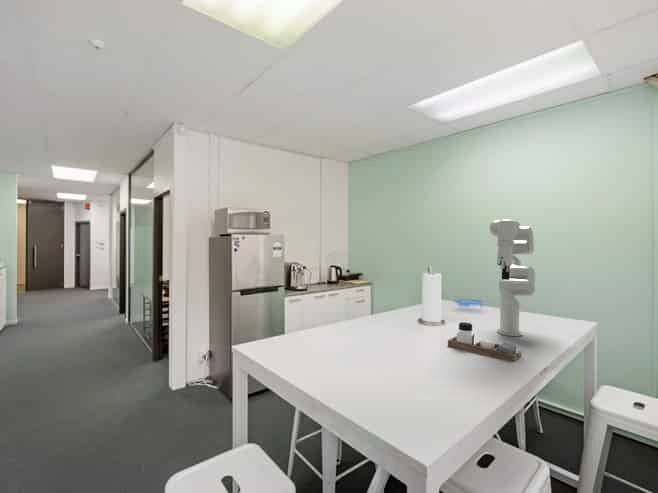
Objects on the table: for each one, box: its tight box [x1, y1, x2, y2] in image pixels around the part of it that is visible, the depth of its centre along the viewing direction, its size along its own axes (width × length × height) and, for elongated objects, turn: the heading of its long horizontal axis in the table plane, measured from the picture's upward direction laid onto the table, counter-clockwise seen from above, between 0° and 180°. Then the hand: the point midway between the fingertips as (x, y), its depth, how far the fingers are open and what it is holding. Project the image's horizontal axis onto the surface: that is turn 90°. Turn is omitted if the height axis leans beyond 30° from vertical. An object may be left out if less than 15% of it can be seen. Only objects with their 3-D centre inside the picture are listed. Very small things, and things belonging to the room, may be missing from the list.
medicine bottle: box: [456, 321, 475, 345], centre depth 157 cm, size 7×7×12 cm
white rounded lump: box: [479, 339, 496, 350], centre depth 150 cm, size 6×6×5 cm
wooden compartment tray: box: [447, 335, 522, 363], centre depth 151 cm, size 11×30×3 cm, turn 45°
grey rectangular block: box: [498, 341, 517, 355], centre depth 144 cm, size 9×5×5 cm, turn 135°
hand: (505, 279), depth 162 cm, fingers closed
